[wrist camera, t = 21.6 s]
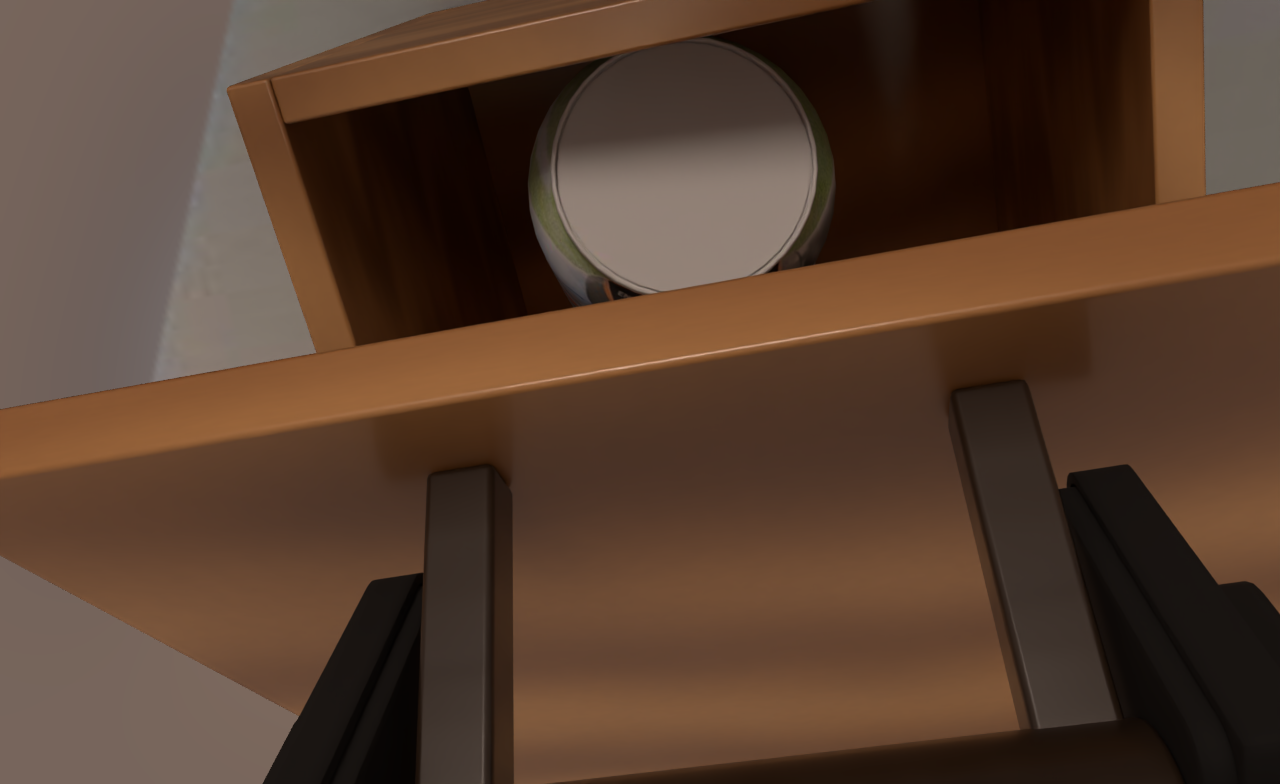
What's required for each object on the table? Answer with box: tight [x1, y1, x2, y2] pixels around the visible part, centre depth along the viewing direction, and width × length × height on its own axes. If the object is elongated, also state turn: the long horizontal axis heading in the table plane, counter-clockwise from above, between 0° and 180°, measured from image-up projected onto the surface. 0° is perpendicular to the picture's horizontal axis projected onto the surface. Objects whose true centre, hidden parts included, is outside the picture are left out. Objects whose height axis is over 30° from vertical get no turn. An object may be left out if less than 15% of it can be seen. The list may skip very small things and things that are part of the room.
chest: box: [227, 0, 1206, 353], centre depth 27 cm, size 15×16×14 cm
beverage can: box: [528, 36, 836, 308], centre depth 26 cm, size 6×7×12 cm
